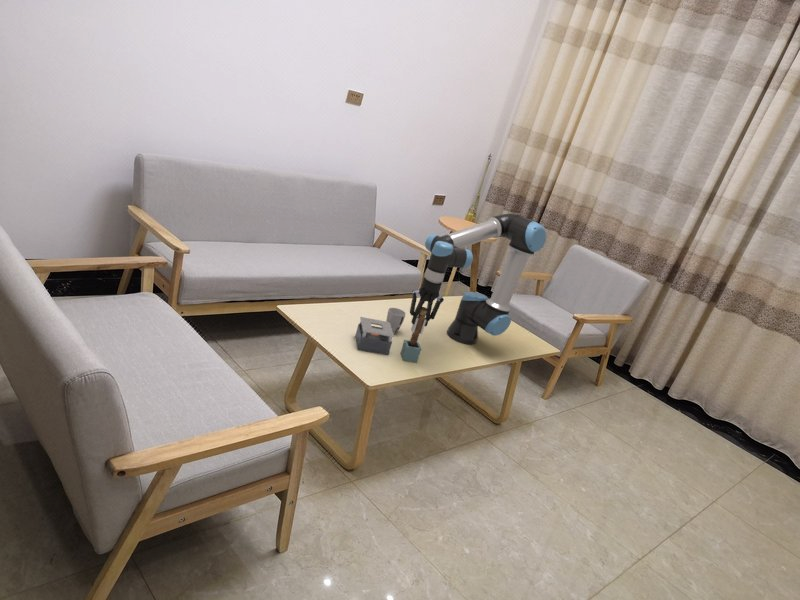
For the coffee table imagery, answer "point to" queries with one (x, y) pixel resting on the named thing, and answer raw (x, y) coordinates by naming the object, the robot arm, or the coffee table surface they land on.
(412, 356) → the holder
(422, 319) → the brown square bar
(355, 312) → the coffee table surface
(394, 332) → the cup
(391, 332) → the grey square box
